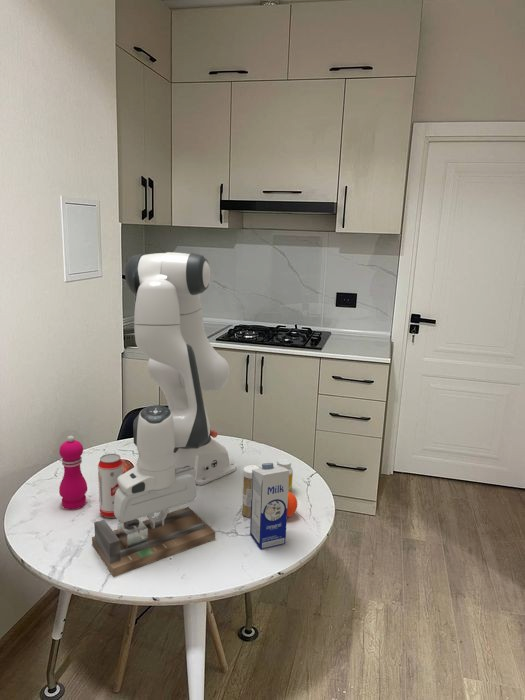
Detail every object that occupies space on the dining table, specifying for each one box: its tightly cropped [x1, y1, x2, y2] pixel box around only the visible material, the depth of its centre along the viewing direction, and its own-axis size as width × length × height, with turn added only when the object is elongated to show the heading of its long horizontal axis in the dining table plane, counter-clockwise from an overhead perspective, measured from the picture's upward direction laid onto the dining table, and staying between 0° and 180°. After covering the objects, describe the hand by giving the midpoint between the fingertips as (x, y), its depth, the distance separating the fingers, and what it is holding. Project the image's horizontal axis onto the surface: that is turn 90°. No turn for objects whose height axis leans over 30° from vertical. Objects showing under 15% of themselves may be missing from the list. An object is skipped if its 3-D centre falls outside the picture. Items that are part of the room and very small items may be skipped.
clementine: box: [287, 491, 298, 518], centre depth 141 cm, size 8×7×7 cm
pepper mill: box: [58, 435, 88, 510], centre depth 142 cm, size 7×7×20 cm
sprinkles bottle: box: [241, 464, 260, 518], centre depth 141 cm, size 5×5×13 cm
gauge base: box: [91, 506, 216, 578], centre depth 128 cm, size 26×14×7 cm, turn 126°
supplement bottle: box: [276, 458, 294, 493], centre depth 154 cm, size 5×5×10 cm
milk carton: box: [249, 462, 290, 550], centre depth 129 cm, size 7×7×20 cm
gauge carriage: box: [117, 518, 148, 548], centre depth 123 cm, size 5×9×4 cm, turn 36°
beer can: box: [97, 453, 124, 519], centre depth 139 cm, size 6×6×16 cm
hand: (157, 525), depth 129 cm, fingers closed
